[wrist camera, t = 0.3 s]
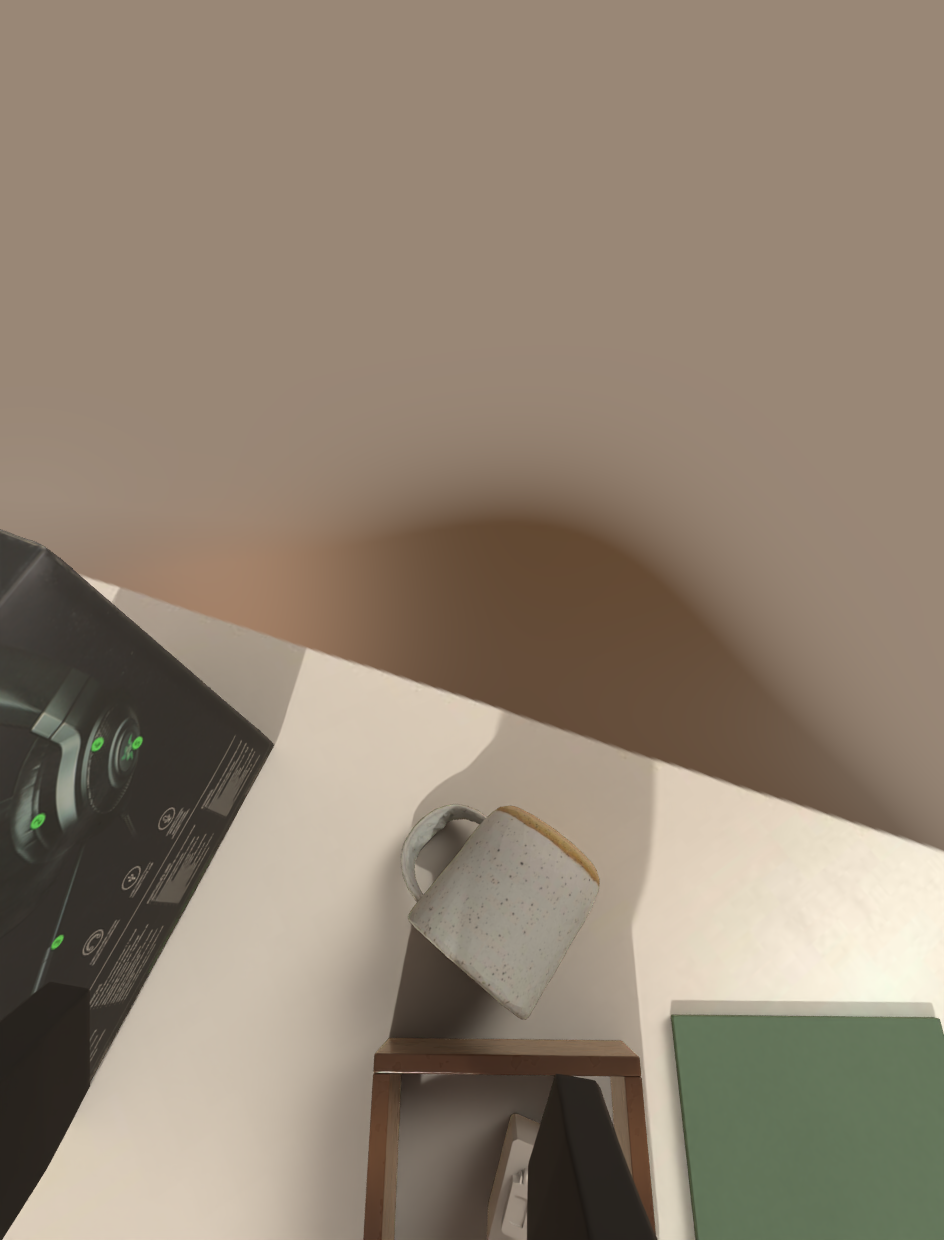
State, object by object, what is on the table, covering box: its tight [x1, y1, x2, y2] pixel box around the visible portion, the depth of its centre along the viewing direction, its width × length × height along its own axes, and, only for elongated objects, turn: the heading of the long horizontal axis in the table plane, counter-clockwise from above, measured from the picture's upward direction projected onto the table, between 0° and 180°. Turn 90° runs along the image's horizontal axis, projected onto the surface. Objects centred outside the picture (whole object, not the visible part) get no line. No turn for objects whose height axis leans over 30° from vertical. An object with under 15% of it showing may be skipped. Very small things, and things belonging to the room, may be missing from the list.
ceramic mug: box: [401, 804, 599, 1020], centre depth 34 cm, size 11×8×8 cm
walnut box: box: [363, 1038, 656, 1240], centre depth 29 cm, size 14×13×4 cm
